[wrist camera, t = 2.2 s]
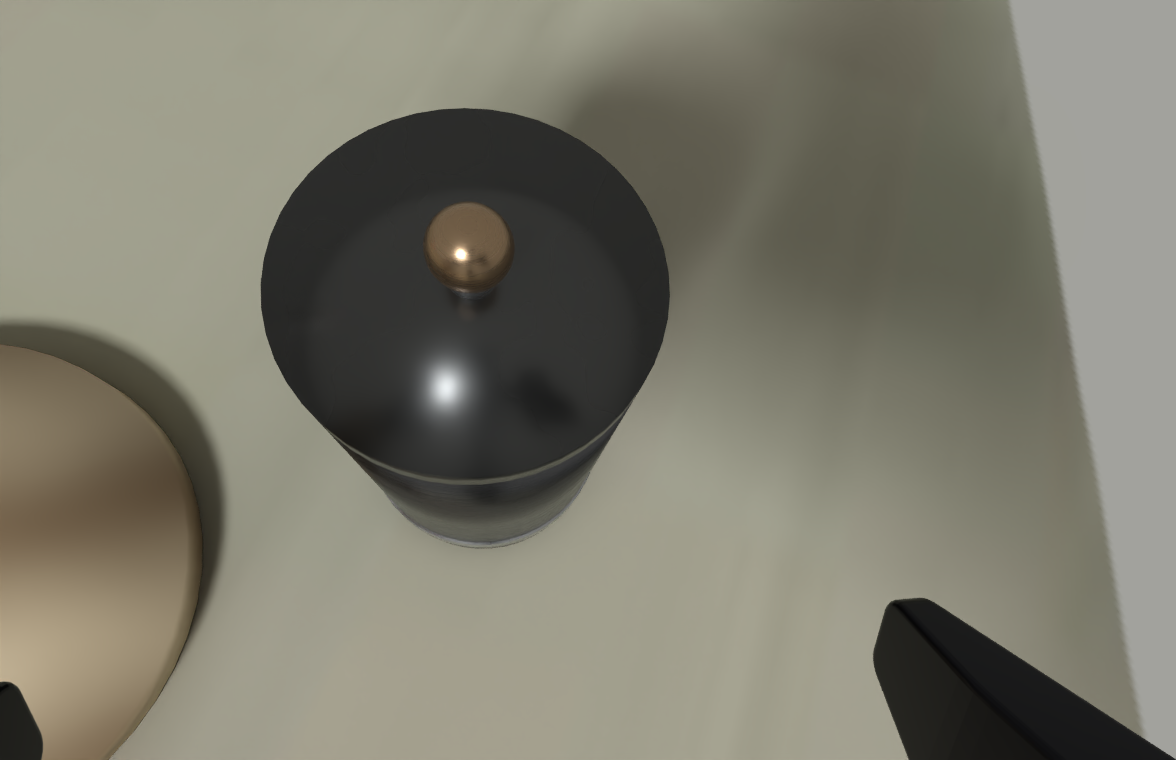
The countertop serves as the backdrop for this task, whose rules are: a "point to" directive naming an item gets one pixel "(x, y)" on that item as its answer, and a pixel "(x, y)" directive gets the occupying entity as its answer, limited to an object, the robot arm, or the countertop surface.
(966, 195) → the countertop surface
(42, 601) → the smooth tan round disc
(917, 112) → the countertop surface
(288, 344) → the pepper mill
